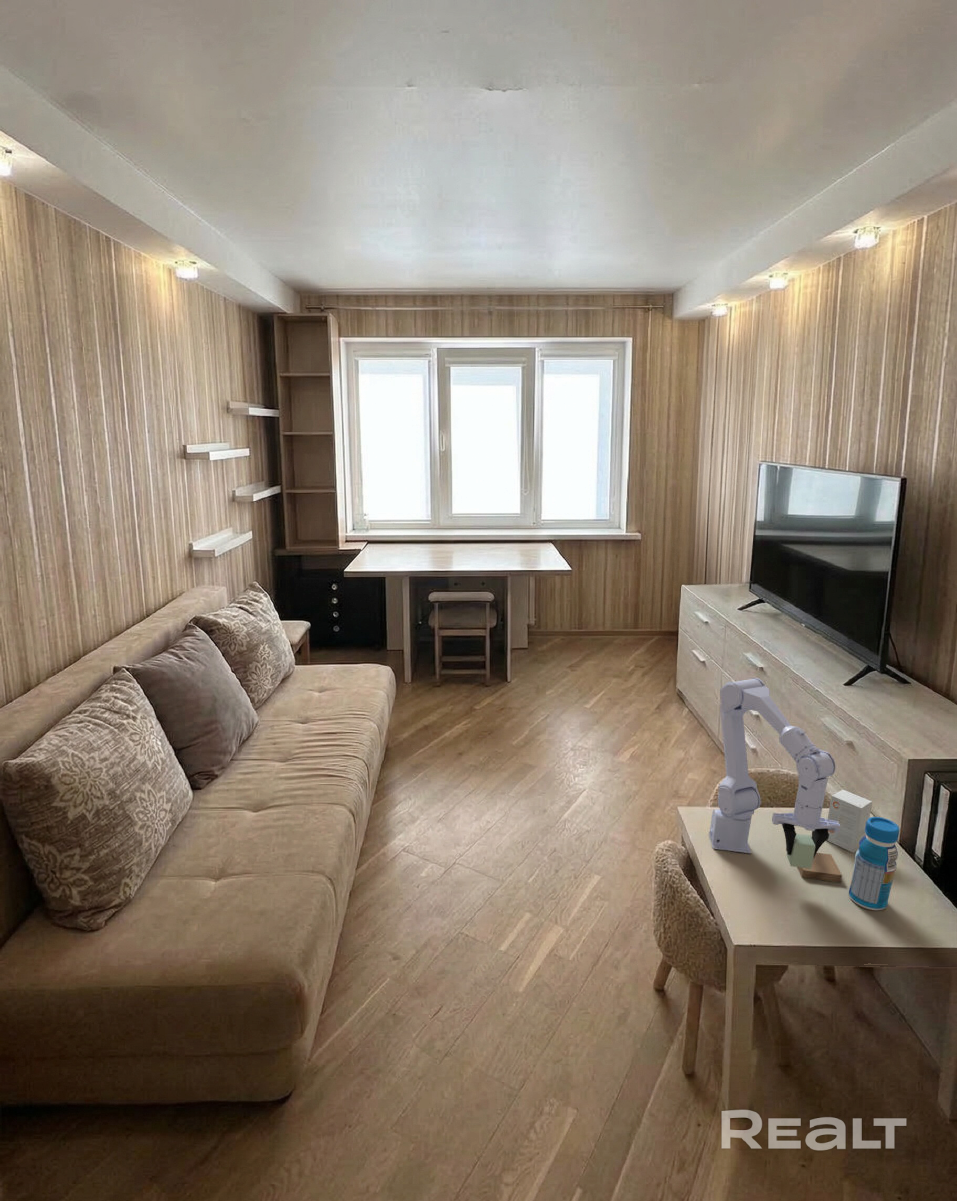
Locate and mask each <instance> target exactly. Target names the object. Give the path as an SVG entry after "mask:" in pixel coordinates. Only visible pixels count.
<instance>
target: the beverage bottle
mask: <svg viewBox="0 0 957 1201" xmlns="http://www.w3.org/2000/svg"><path fill="white" fill-rule="evenodd" d="M865 834H866V835H865V836H864V837H863V838H862V839H861V840H860V842H859V844H858V848H859V849H858V850H857V851H855V855H854V865H853V870H852V873H851V874H852V875H851V880H850V883H849V884H850V885H849V889H848V895H849V898H850V899H851V901H853V903H854V904H856V905H858V907H859V906H860V907H861V908H864V909H866V910H872V911H883V910H885V909H886V908H887V907H888V903H889V899H890V893H891V889H892V885H893V879H894V876H895V872H896V869H897V860H898V858H899V853H898V852H899V851H898V848H897V846H896V843H897V842H898V839H899V835H900V827H899V825H898V824H897V823H895V822H894V821H893V820H891V819H888V818H886V817H885V818H884V817H880V816H872V817H869V818H868V820H867V822H866V827H865Z"/></svg>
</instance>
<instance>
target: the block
mask: <svg viewBox="0 0 957 1201" xmlns="http://www.w3.org/2000/svg"><path fill="white" fill-rule="evenodd" d="M814 851H815V844H814V842H813V840H812V835H809V834H801V833H796V836H795V839H794V843H793V849H792V854H791V855H788V854H787V853H786V858H787V859H788V862H789V866H790V867H794V868H795V867H796V868H797V867H801V868H808V869H811V867H812V862H813V857H814Z"/></svg>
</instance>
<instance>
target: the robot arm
mask: <svg viewBox="0 0 957 1201" xmlns="http://www.w3.org/2000/svg"><path fill="white" fill-rule="evenodd" d="M719 693H720V694H719V695H720V705H719V706H720V707H719V709H720V722H721V733H722V742H723V743H722V745H723V753H724V754H723V755H724V765H725V775H726V776H725V777H724V778H723V780H722V781H721V782H720V783H719V785H718V795H717V799H716V800H717V806H718V808H719V809H717V808H716V809H713V810H712V813H711V819H710V827H709V831H708V835H709V838H710V843H711V847H712V848H713V849H714V850H721V851H727V852H728V851H729V852H737V853H743V854H744V853H745V854H751V853H752V850H751V847H750V845H749V837H750V836H749V835H750V829H751V823H752V816H754V814H755V811H756V810H757V809H759V808H760V806H761V802H762V799H761V796H760V792H759V791H758V787H757V781H755V780H754V779H753V778H752V777H751V776H749V765H748V764H749V763H748V756H747V755H748V754H747V752H748V751H747V743H746V734H745V722H744V715H745V714H747V712H748V711H754V712H758V714H759V715H760V716H761V717H762V718H763V719H764V720H765V721H766V722H767V723H768V724H769V725H770V727H772V728H773V729H774V730H775V731H776V732H777V733H778V736H779V738H778V740H779V741H778V742H779V744H780V745H781V746H782V747H783V748H784V749H785V751H786V752H787V753H788V754H789V756H791V758H792V759H793V760H794V762H795V766H796V768H795V769H796V771H797V774H798V779H797V780H798V787H797V792H796V793H797V794H796V799H795V804H794V811H793V812H787V813H786V812H785V813H783V812H782V813H779V812H777V813H776V812H773V813H772V816H771V822H772V824H773V825H775V826H778V825H781V826H782V829H783V834H784V839H785V847H786V848H785V851H786V855H787V854H788V855H791V854H792V849H793V843H794V839H795V836H796V834H797V832H796V828H795V827H800V828H803V829H804V830H806V831H811V838H812V840H813V842H814V844H815V851H814V857H815V855H816V853H818V851H819V849H820V848H821V846H822V845H824V843H825V842H826V841H827V840H828V838H829V833H828V830H831V831H834V832H835V833H839V830H840V824H839V822H838V821H833V820H829V819H828V818H825V817H822V812H823V807H824V806H823V805H824V802H825V796H826V790H827V785H828V781H829V778H828V777H831V776H833V775H834V774H835V772H836V768H837V767H836V762H835V759H834V758H833V756H832V754H831V753H829V751H826V750H822V749H821V748H819V747H817V746H816V745H815V744H814V743H813V742H812V740H811V739H810V738H809V736H808V735H807V734H806V731H805V730H804V729H803V728H801V727H799V726H796V725H795V726H794V725H792V724H791V723H790V721H788V719H787V717H786V716H785V715H784V713H783V712H782V711H781V710H780V708H779V707H778V705H777V704H776V703H775V701H774V700H773V698H772V697H771V692H770V688H769V687H767V686H766V684H765V682H764V681H763V680H762V679H760V678H758V677H753V678H749V679H744V680H736V681H728V682H726V683H725V684H724V685H723V686H722V687H721V688H720V689H719ZM814 857H813V858H814Z"/></svg>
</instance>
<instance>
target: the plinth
mask: <svg viewBox="0 0 957 1201" xmlns="http://www.w3.org/2000/svg"><path fill="white" fill-rule="evenodd" d="M796 868H797V870H798V872H799V874H800V877H801V878H803V879H810V880H811V879H812V880H819V881H827V882H834V883H841V881H842V876H843V874H842V873H841V870H840V869H839V867H838V865H837V863H836V861H835V860H834V858H833V856H832V854H829V853H822V852H817V853H816V855H815V857H814V858H813V862H812V867H811V869H808V868H801V867H796Z"/></svg>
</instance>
